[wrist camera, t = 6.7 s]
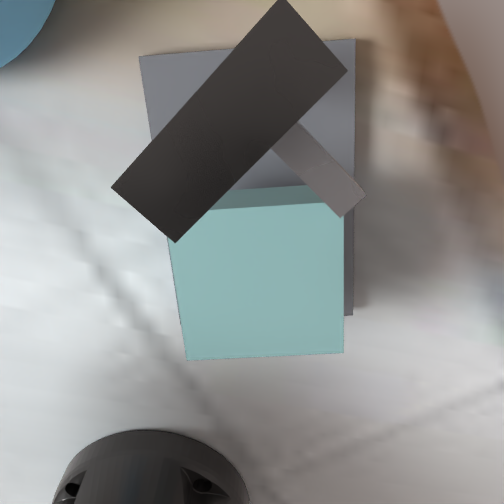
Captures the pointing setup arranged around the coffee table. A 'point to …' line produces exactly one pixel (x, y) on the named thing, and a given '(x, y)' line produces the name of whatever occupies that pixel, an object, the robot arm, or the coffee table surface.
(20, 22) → the sugar bowl
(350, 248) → the grey base plate
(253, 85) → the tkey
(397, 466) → the coffee table surface
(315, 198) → the lid
